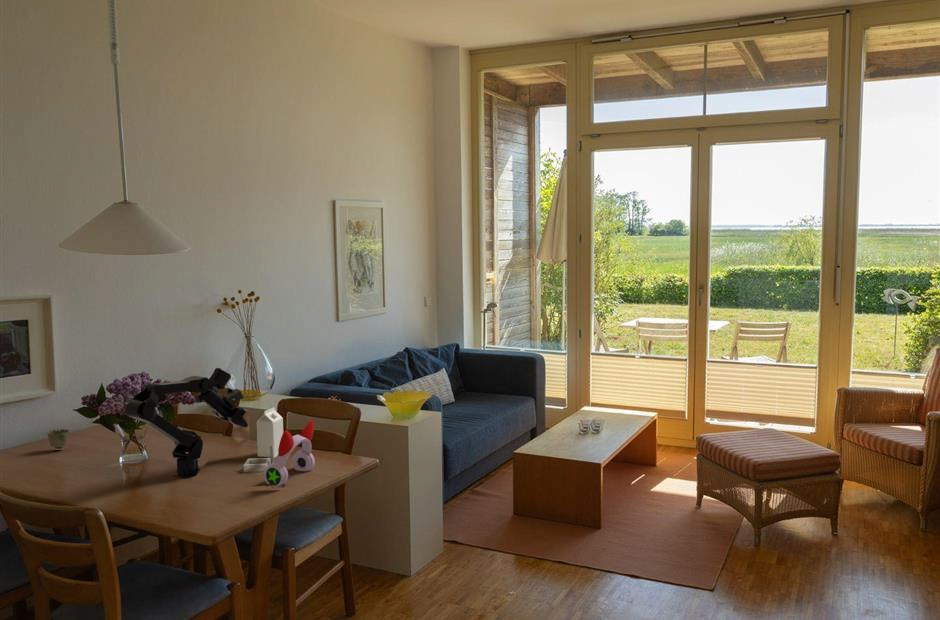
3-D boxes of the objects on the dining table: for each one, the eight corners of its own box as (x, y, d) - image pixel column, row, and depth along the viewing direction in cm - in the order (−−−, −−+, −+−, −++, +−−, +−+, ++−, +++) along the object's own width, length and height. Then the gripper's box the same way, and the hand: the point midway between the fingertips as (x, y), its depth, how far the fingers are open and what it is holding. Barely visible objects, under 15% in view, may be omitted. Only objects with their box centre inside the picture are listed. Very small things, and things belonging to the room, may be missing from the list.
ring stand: (257, 479, 268) (256, 452, 267) (232, 474, 274) (231, 448, 273) (282, 470, 278) (281, 444, 277) (257, 465, 284) (256, 440, 283)
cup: (55, 448, 311) (54, 428, 310) (73, 448, 311) (72, 428, 310) (44, 453, 304) (43, 433, 303) (62, 453, 303) (61, 433, 303)
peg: (238, 443, 287) (237, 412, 286) (233, 441, 290) (232, 410, 289) (249, 441, 290) (248, 410, 289) (244, 439, 293) (243, 408, 292)
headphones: (296, 471, 278) (294, 416, 276) (319, 473, 274) (318, 418, 272) (263, 487, 259) (261, 429, 257) (287, 490, 256) (286, 431, 254)
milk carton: (257, 460, 292) (256, 410, 290) (268, 454, 299) (266, 406, 297) (274, 461, 290) (272, 411, 288) (284, 456, 296) (282, 407, 295)
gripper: (239, 386, 278) (269, 412, 286) (219, 379, 292) (247, 404, 301) (219, 411, 274) (249, 436, 282) (199, 403, 288) (229, 427, 296)
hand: (244, 425), depth 290 cm, fingers closed on peg, 4 cm apart
